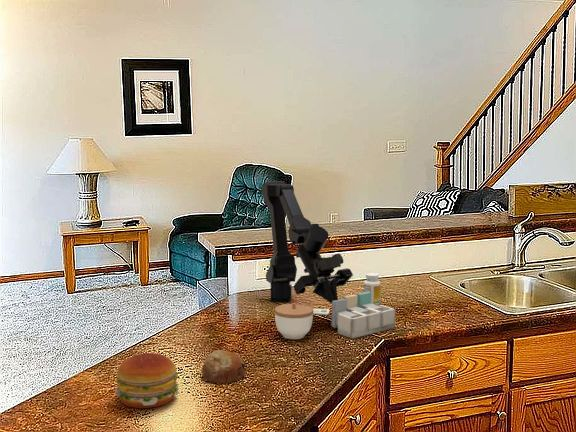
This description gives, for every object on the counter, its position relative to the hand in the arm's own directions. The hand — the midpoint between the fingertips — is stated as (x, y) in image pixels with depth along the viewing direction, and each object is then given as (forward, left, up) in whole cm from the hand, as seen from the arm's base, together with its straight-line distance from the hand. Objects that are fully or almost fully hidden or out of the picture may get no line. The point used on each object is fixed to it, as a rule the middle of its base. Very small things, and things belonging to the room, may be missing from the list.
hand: (336, 305), depth 203 cm
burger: (-37, -57, -7) cm, 68 cm away
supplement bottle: (+10, +28, -7) cm, 31 cm away
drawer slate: (+3, -3, -6) cm, 7 cm away
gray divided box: (+9, -1, -7) cm, 11 cm away
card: (-7, +15, -7) cm, 18 cm away
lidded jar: (-11, -9, -7) cm, 16 cm away
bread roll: (-24, -40, -7) cm, 48 cm away
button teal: (+9, +7, -6) cm, 13 cm away
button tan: (+5, +3, -6) cm, 8 cm away
